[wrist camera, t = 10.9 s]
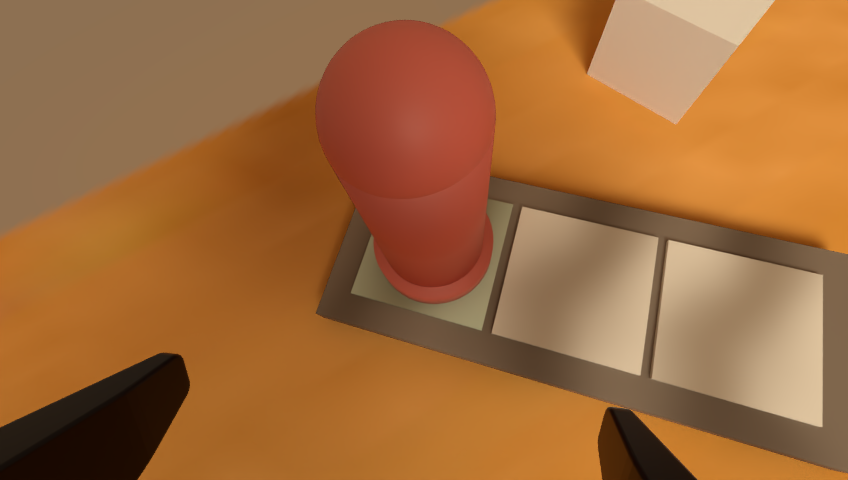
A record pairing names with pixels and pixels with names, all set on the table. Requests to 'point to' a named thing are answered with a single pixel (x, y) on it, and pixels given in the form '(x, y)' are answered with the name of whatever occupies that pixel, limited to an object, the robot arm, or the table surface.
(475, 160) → the pawn
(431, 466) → the table surface
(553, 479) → the table surface
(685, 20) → the die
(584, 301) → the board
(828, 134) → the table surface
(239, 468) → the table surface
